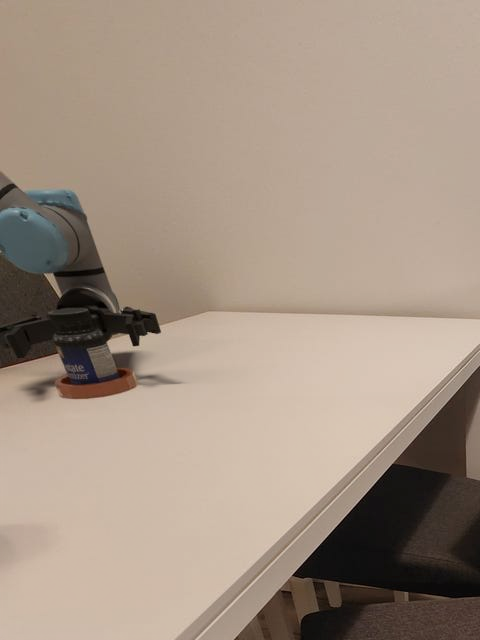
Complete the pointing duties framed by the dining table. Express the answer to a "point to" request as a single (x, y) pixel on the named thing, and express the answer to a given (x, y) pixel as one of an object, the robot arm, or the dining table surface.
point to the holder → (97, 386)
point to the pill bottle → (82, 347)
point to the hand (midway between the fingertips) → (75, 340)
